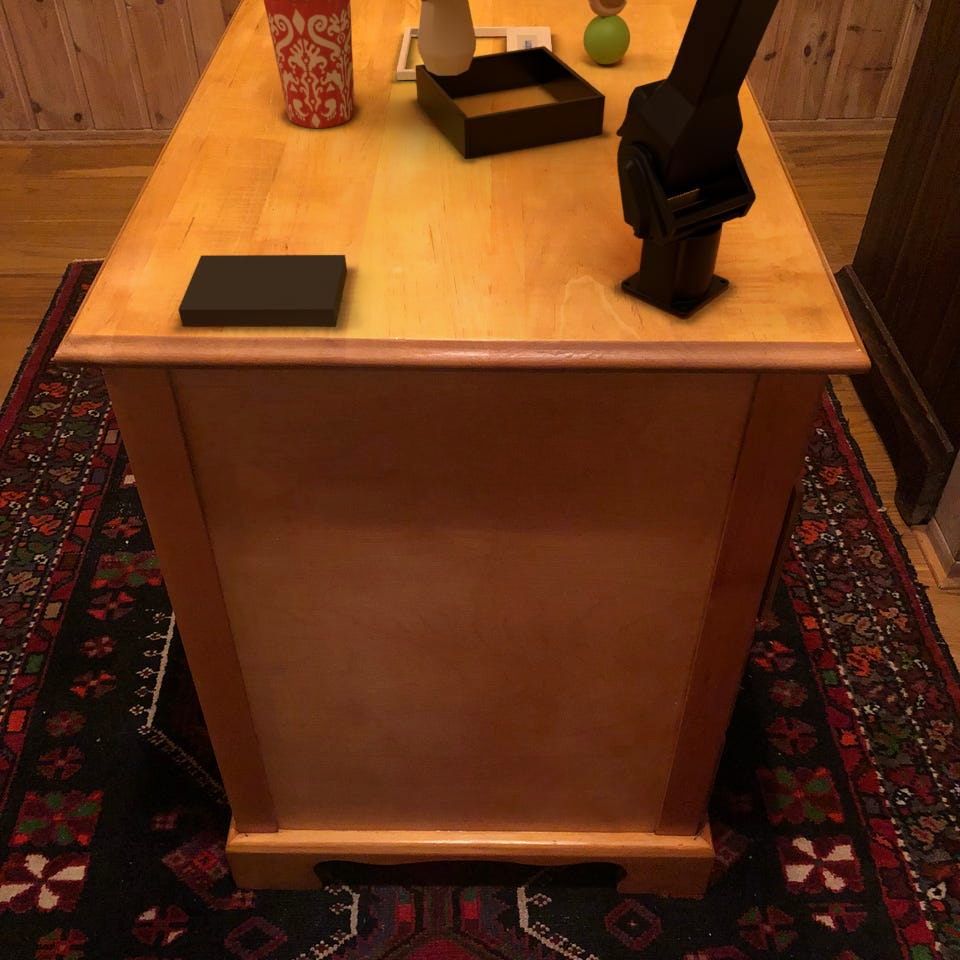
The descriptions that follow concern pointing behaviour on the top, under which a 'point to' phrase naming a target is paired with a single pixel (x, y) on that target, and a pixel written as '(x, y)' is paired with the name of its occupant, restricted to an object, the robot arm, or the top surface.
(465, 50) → the salt shaker
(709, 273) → the robot arm
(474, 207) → the top surface
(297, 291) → the mat
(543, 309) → the top surface
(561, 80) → the black open square box
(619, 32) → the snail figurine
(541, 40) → the photo frame
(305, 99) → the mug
